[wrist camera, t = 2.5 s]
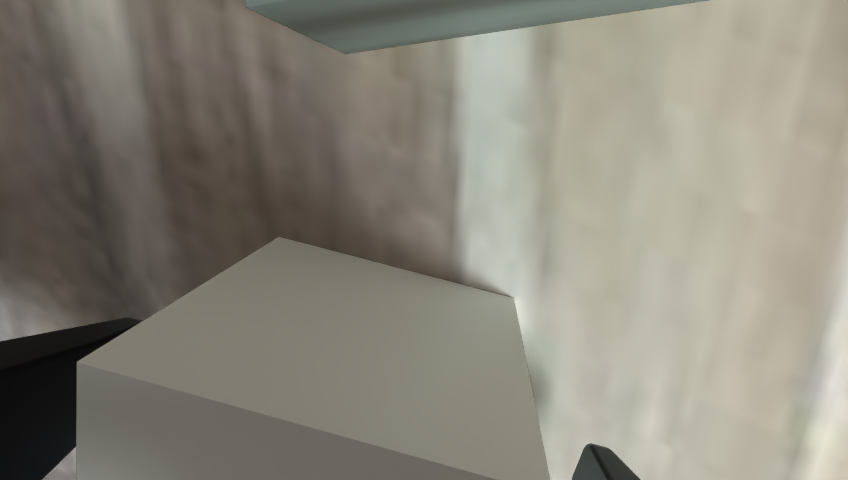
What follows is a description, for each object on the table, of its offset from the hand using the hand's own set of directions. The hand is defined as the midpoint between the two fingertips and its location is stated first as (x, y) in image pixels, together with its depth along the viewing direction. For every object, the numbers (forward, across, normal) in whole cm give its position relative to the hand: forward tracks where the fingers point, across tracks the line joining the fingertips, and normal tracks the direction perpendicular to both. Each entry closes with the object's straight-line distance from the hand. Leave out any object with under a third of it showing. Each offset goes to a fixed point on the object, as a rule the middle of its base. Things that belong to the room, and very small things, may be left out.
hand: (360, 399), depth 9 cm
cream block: (+1, 0, 0) cm, 1 cm away
